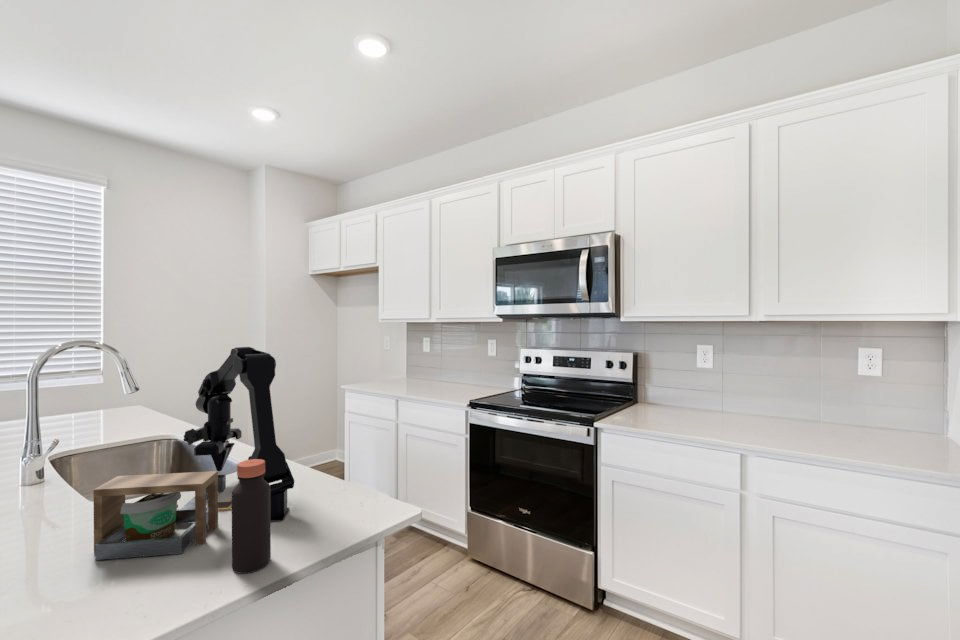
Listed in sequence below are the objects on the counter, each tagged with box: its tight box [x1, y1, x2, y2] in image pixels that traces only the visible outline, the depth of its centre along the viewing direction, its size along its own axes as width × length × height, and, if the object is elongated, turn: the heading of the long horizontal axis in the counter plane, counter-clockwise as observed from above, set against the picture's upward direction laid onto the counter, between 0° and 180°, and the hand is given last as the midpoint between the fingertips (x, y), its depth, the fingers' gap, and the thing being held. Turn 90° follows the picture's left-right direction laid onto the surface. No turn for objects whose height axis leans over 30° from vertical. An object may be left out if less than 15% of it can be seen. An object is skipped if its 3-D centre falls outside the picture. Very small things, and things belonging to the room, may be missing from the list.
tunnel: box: [93, 470, 219, 554], centre depth 99 cm, size 21×8×13 cm, turn 100°
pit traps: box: [177, 500, 232, 512], centre depth 115 cm, size 19×5×1 cm, turn 100°
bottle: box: [231, 459, 272, 574], centre depth 89 cm, size 7×7×20 cm
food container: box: [120, 492, 182, 541], centre depth 99 cm, size 12×6×10 cm, turn 168°
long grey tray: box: [94, 474, 227, 561], centre depth 109 cm, size 16×36×4 cm, turn 10°
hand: (219, 470), depth 131 cm, fingers closed
